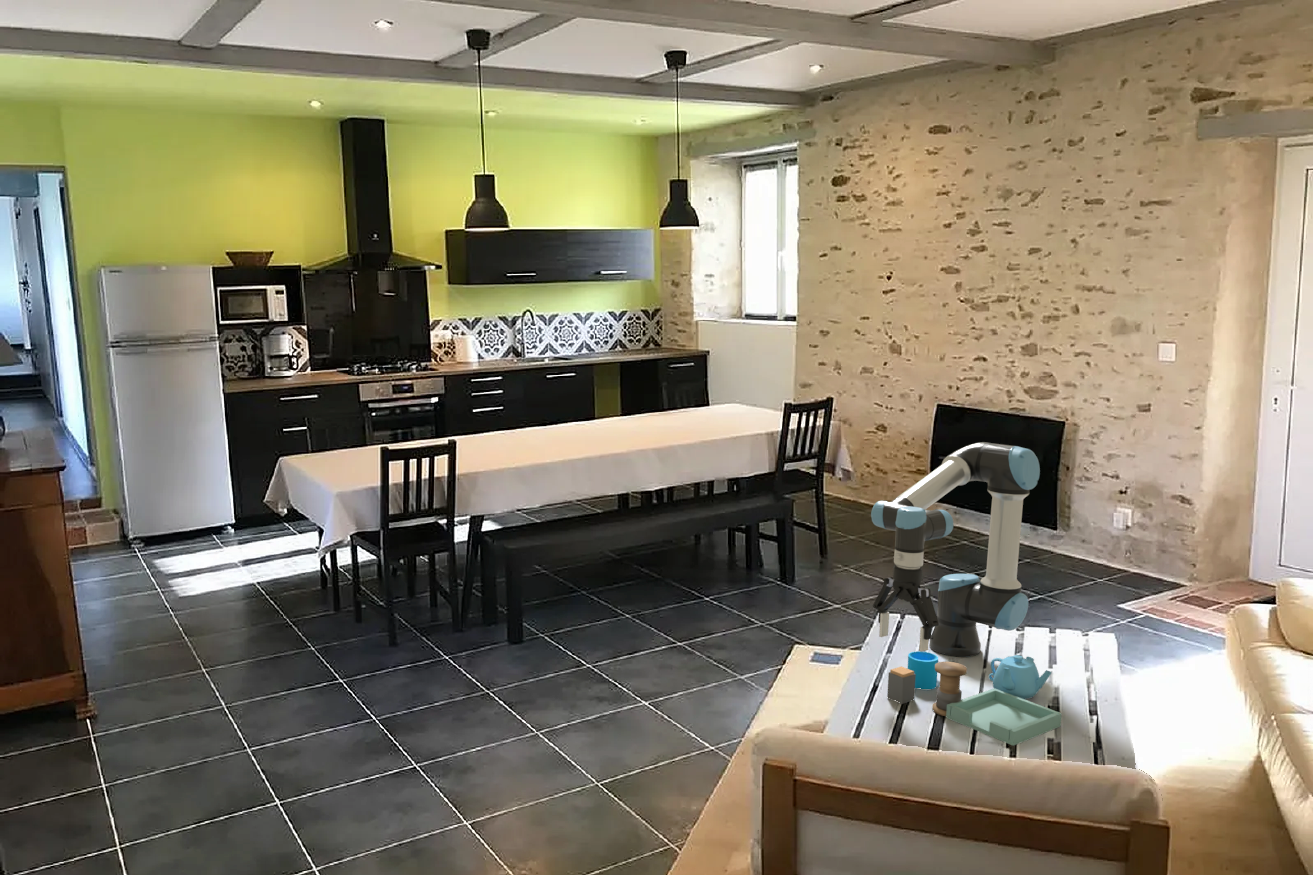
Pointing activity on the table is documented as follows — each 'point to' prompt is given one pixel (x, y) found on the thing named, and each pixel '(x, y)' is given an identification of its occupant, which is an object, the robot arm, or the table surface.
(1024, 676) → the teapot
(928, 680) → the mug
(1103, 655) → the table surface
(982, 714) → the pale green tray
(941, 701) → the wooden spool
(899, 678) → the gray and orange block
